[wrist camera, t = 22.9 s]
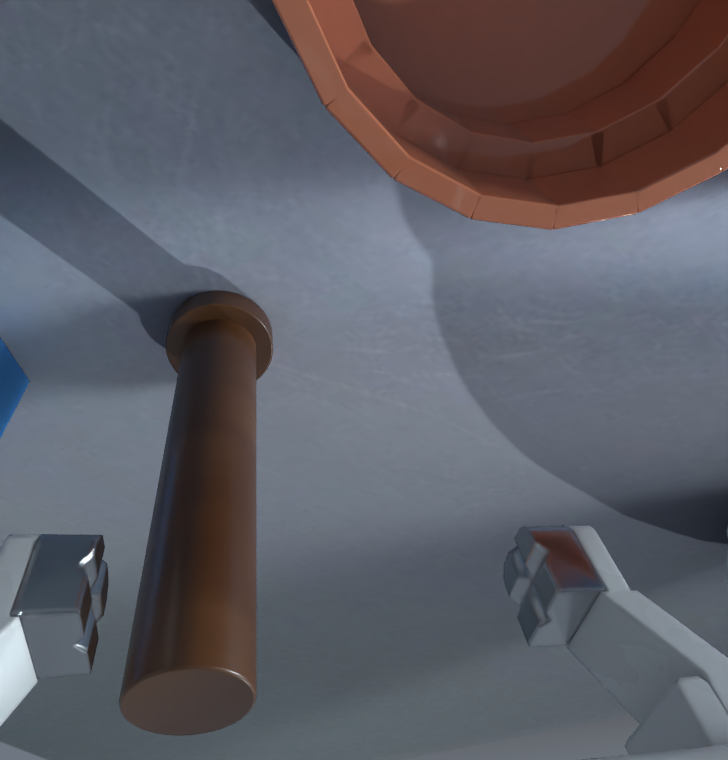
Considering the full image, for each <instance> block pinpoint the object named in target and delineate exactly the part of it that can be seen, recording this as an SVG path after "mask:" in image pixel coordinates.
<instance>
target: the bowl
mask: <svg viewBox="0 0 728 760" xmlns="http://www.w3.org/2000/svg"><path fill="white" fill-rule="evenodd" d="M272 2H273V4H274V6H275V8H276V10H277V12H278V14H279V16H280V18H281V20H282V22H283V25H284V27H285V29H286V31H287V33H288V35H289V37H290V39H291V41H292V43H293V45H294V47H295V49H296V51H297V53H298V55H299V57H300V59H301V61H302V63H303V66H304V68H305V70H306V72H307V74H308V76H309V78H310V80H311V82H312V84H313V86H314V88H315V90H316V92H317V94H318V96H319V98H320V100H321V102H322V104H323V105H324V106H325V108H326V110H327V111H328V112H329V113H330V114H331V115H332V116H333V117H334V118H335V119H336V120H337V121H338V122H339V123H340V124H341V125H342V127H343V128H344V129H345V130H346V131H347V132H348V133H349V134H350V135H351V136H352V137H353V138H354V139H355V140H356V141H357V142H358V143H359V145H360V146H361V147H362V148H363V149H364V150H365V151H366V152H367V153H368V154H369V155H370V156H371V157H372V158H373V159H374V160H375V161H376V162H377V164H378V165H379V166H380V167H381V168H382V169H383V170H384V171H385V172H386V173H387V174H388V175H389V176H390V177H392V178H393V179H394V180H395V181H397V182H399V183H401V184H403V185H405V186H407V187H408V188H410V189H412V190H414V191H416V192H418V193H420V194H422V195H424V196H426V197H428V198H430V199H432V200H434V201H436V202H438V203H440V204H442V205H444V206H445V207H447V208H449V209H451V210H453V211H455V212H457V213H459V214H461V215H463V216H465V217H467V218H470V219H473V220H480V221H488V222H496V223H503V224H511V225H519V226H526V227H534V228H542V229H549V230H551V229H559V228H565V227H570V226H575V225H581V224H586V223H591V222H597V221H602V220H607V219H613V218H618V217H624V216H629V215H634V214H636V213H640V212H642V211H644V210H646V209H648V208H650V207H652V206H654V205H656V204H658V203H660V202H662V201H664V200H666V199H668V198H670V197H672V196H675V195H677V194H679V193H681V192H683V191H685V190H687V189H689V188H691V187H693V186H695V185H697V184H699V183H701V182H703V181H705V180H707V179H710V178H712V177H714V176H716V175H718V174H720V173H721V172H724V171H725V170H726V169H728V0H272Z"/></svg>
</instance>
